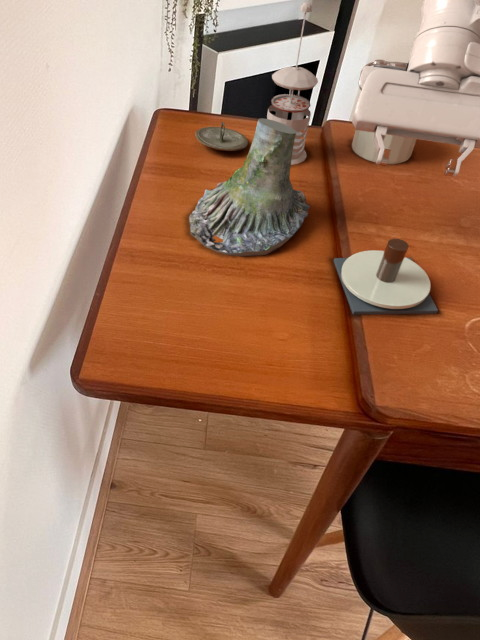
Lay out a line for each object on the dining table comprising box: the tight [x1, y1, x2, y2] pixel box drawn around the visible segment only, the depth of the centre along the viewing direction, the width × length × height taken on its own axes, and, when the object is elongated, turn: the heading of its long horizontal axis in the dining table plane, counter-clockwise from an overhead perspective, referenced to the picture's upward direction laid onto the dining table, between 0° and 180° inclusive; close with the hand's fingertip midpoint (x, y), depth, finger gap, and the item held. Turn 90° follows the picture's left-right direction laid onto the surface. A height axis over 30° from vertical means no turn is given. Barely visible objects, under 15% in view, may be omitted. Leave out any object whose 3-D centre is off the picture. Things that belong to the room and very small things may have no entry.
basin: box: [351, 129, 418, 165], centre depth 103 cm, size 12×12×8 cm
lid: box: [194, 121, 249, 152], centre depth 102 cm, size 11×10×5 cm
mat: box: [333, 257, 439, 315], centre depth 77 cm, size 12×12×1 cm
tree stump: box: [188, 117, 312, 257], centre depth 83 cm, size 18×20×18 cm
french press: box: [266, 1, 319, 166], centre depth 94 cm, size 10×12×25 cm
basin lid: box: [341, 238, 431, 309], centre depth 74 cm, size 13×13×7 cm
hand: (415, 169), depth 73 cm, fingers open, 8 cm apart
